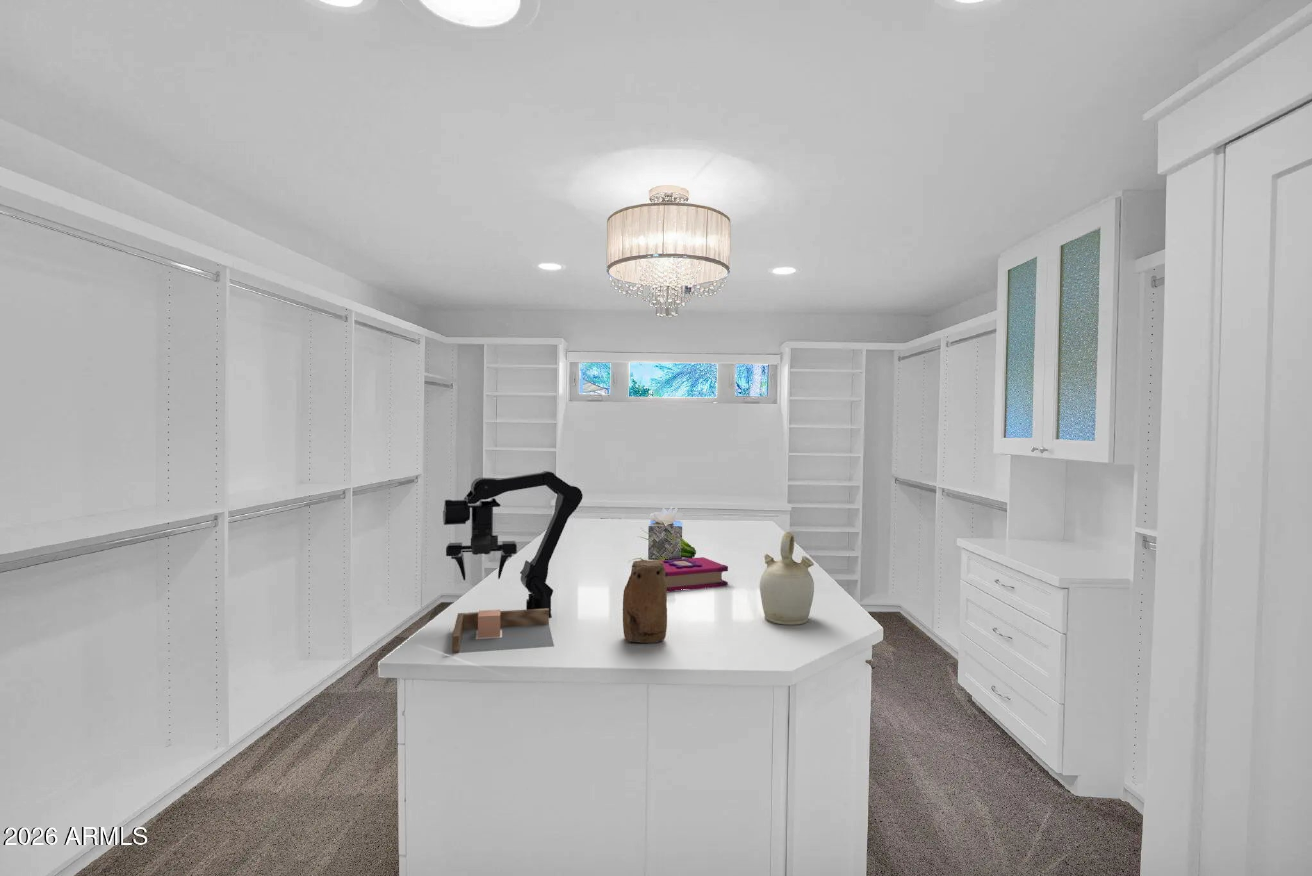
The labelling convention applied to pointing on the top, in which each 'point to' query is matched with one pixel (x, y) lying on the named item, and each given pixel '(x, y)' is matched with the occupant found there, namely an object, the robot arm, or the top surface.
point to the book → (693, 573)
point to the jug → (787, 586)
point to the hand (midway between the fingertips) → (481, 579)
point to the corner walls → (506, 620)
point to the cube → (489, 623)
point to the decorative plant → (685, 550)
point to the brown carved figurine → (645, 603)
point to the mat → (507, 639)
